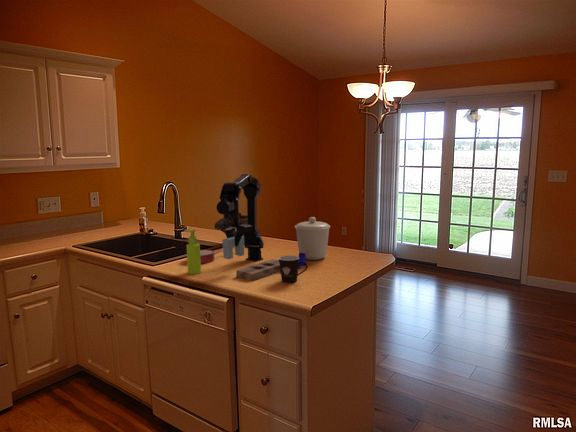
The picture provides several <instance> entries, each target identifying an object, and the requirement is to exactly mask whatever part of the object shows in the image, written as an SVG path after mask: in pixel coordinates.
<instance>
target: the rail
mask: <svg viewBox="0 0 576 432" xmlns="http://www.w3.org/2000/svg"><path fill="white" fill-rule="evenodd" d="M235 273H236V274H235V275H236V278H240V279H244V280H247V281H250V282H251V281H252V282H254V281H257V280H260V279H262V278H265V277H268V276H271V275H274V274H277V273H281V271H280V264H279V259H274V258H271V259H269V260H265V261H262V262H259V263H256V264H253V265H250V266H245V267H243V268H239V269H236V272H235Z"/></svg>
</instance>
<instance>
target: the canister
mask: <svg viewBox="0 0 576 432" xmlns="http://www.w3.org/2000/svg"><path fill="white" fill-rule="evenodd" d="M294 228H295V232H296V233H295V234H296V240H297V248H298V254H299V253H306V261H307V260H310V261H317V260H322V259H324V258H325V257H326V255H327V250H328V243H329V236H330V235H329V233H330V229H331V225H330V224H328V223H327V222H323V221H317V218H316V217H315V216H310V217H309V218H308V221H302V222H299V223H297V224H296V225H294Z"/></svg>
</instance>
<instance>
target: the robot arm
mask: <svg viewBox="0 0 576 432" xmlns="http://www.w3.org/2000/svg"><path fill="white" fill-rule="evenodd" d="M261 189H262V185H261V183H260V181H259V180H258V179H257V178H255V177H254V176H253V175H252V174H251V173H245V174H244V173H242V174H240V175H239V176H238V177H237V178H236V179H235V180H233V181H228V182H224V183H223V185H222V186H221V190H220V196H219V199H220V201H219V202H217V204H216V211H217V213H218V214H220V215H223V218H220V219H218V220H217V221H216V222H215V223H214V229H216V230H220V231H221V232H223V234H225V236H226V239H227V238H231V237H233V236H234V238H235V246H238V244H239V242H240V240H241V237H242V236H243V234H244V249H247V258H245V260H247V261H251V262H257V261H261V260H264V257H262V249H264V246H265V245H264V240H263V239H262V237H261V231H260V230H259V228H258V206H257V205H258V203H257V202H258V200H257V199H258V197H259V196H260V194H261ZM242 191H243V195H244V197H245V198H246V202H247V203H246V207H247V208H246V209H247V210H246V211H247V212H246V213H247V214H246V215H247V223H248V224H242V225H241V222H239V216H240V215H242V212H240V205H239V204H240V203H239V200H240V195H241V193H242ZM231 226H232V227H231ZM234 229H235V232H234Z"/></svg>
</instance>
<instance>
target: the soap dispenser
mask: <svg viewBox="0 0 576 432" xmlns="http://www.w3.org/2000/svg"><path fill="white" fill-rule="evenodd" d="M182 232H183V233H188V232H190V236H189V237H188V243H187V244H186V246H185V247H186V262H187V274H188V275H199V274H201V273H202V264H201V260H200V250H201V244H200V243H198V241H197V236H196V235H195V232H197V230H196V229H191V228H190V229H186V230H185V229H184V230H183V231H182Z"/></svg>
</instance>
